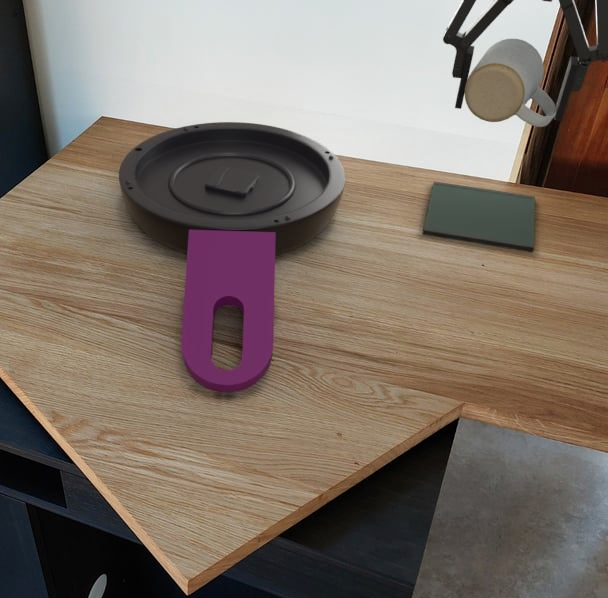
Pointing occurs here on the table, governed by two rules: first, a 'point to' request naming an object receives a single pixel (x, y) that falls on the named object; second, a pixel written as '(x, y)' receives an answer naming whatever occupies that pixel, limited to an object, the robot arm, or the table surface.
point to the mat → (481, 216)
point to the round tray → (231, 183)
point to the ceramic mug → (509, 84)
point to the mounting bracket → (229, 303)
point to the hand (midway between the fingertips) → (507, 110)
